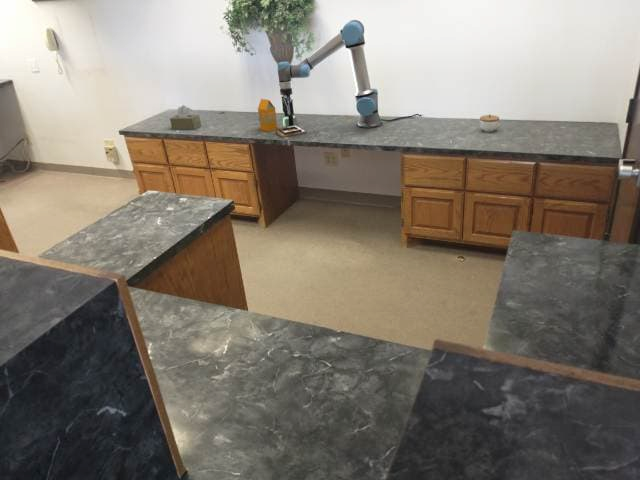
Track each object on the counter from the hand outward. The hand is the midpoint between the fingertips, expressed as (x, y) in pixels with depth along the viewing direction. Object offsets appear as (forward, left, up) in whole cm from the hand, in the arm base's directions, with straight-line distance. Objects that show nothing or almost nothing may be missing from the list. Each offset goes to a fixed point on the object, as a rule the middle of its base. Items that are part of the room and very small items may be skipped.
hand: (289, 124), depth 328 cm
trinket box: (-98, +74, -6) cm, 123 cm away
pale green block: (0, 0, 0) cm, 0 cm away
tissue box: (+56, -62, -6) cm, 84 cm away
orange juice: (+9, -17, -6) cm, 20 cm away
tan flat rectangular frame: (0, 0, -5) cm, 5 cm away
